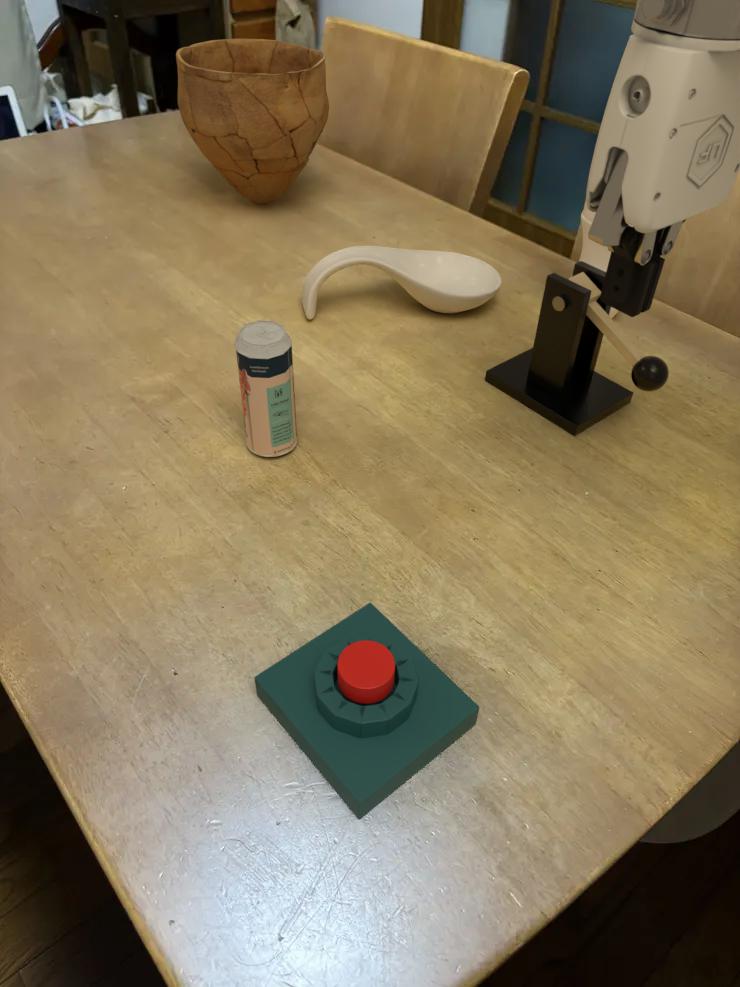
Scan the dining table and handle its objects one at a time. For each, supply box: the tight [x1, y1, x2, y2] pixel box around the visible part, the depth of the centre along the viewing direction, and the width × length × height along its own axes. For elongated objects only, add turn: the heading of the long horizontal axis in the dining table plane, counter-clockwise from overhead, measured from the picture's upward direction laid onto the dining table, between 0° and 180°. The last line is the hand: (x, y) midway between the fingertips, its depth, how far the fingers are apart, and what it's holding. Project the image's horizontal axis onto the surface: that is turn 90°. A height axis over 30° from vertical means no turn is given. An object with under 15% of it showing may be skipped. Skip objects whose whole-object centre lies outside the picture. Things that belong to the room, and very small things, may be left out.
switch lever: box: [567, 272, 670, 393], centre depth 69 cm, size 13×3×3 cm, turn 40°
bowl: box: [175, 38, 330, 205], centre depth 105 cm, size 21×20×20 cm
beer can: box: [234, 320, 298, 458], centre depth 66 cm, size 5×5×12 cm
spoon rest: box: [301, 245, 503, 320], centre depth 88 cm, size 24×12×7 cm, turn 102°
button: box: [337, 640, 395, 704], centre depth 47 cm, size 4×4×2 cm
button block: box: [253, 602, 480, 820], centre depth 49 cm, size 11×10×4 cm
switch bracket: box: [484, 261, 634, 437], centre depth 73 cm, size 12×9×13 cm
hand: (623, 305), depth 54 cm, fingers closed
